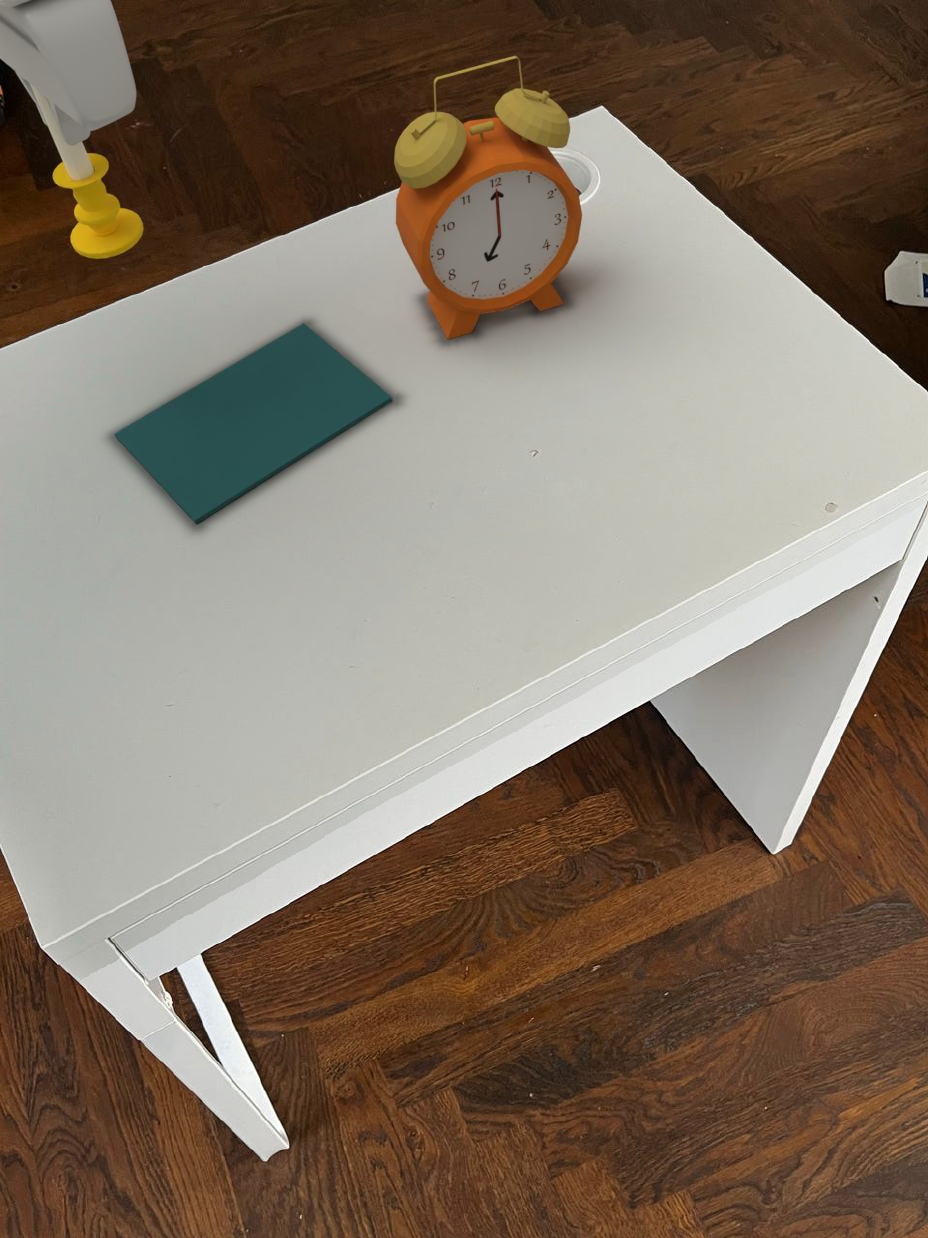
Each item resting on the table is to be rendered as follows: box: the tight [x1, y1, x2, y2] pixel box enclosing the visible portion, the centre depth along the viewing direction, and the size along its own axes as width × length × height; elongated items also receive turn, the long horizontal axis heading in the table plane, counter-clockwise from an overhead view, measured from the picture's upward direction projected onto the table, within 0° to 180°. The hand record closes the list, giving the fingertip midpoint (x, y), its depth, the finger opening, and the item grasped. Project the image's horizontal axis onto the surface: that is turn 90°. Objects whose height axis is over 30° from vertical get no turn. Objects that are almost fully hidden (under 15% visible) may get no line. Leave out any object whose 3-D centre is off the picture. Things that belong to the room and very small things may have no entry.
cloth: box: [114, 322, 393, 525], centre depth 89 cm, size 18×12×1 cm, turn 129°
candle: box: [30, 84, 144, 260], centre depth 76 cm, size 5×5×16 cm
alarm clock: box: [393, 55, 583, 340], centre depth 86 cm, size 13×6×20 cm, turn 110°
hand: (69, 132), depth 77 cm, fingers closed on candle
